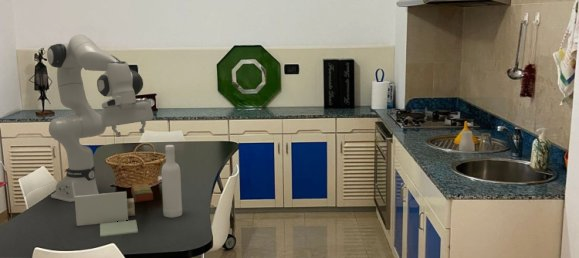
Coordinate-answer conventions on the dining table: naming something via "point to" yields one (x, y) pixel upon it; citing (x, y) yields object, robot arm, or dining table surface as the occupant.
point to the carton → (141, 192)
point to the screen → (101, 208)
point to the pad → (118, 228)
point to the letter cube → (130, 207)
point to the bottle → (171, 185)
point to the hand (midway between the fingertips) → (130, 134)
